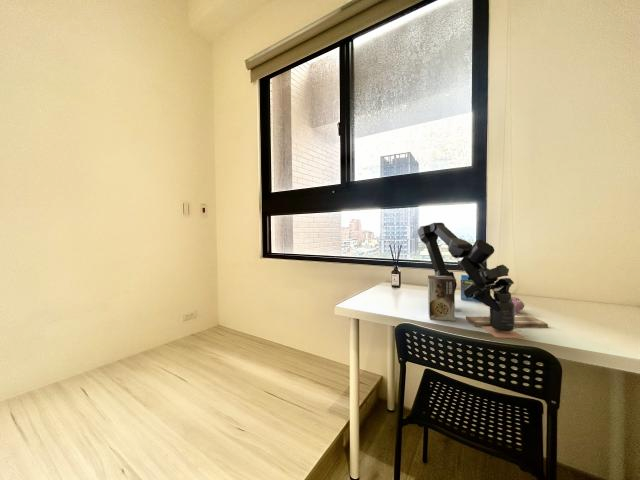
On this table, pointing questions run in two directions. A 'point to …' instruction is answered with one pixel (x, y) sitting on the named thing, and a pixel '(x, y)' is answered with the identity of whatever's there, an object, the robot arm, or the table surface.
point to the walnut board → (517, 321)
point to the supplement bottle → (503, 312)
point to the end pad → (503, 333)
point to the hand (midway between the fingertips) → (506, 309)
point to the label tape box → (464, 285)
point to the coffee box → (441, 298)
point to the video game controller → (517, 304)
